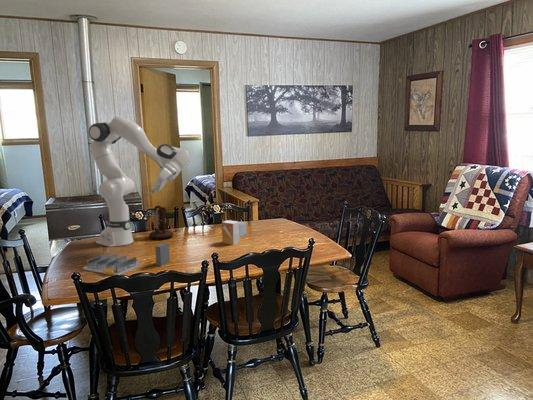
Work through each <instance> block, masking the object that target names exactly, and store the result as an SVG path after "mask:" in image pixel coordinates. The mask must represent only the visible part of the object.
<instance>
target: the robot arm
mask: <svg viewBox="0 0 533 400" xmlns="http://www.w3.org/2000/svg"><path fill="white" fill-rule="evenodd" d="M88 136H89V138H91V140H92V142H90V145H89V146H90V151H91V155H92V157H93V160H94V162H95V165H96V167H97V169H98V171H99V173H100V174H101V175H103V176H104V177H105V178H106V179H107V180H105V181H103V182H102V183H100V184H99V187H98V193H99V195H100V197H102V198H103V199H104V200H105V202H106V204H107V207H108V214H109V220H107V221H106V224H107V226H106V227H105V228H104V229H103V230H102V231H101V232H100V233H99V239H97V240H96V241H95V243H96V244H99V245H102V246H105V247H110V248H111V247H112V248H113V247H118V246H120V247H121V246H126V245H131V244H132V243H134V241H135V240H134V237H133V233H132V229H131V228H132V227H131V223H132V222H131V219H130V211H129V210H130V209H129V206H128V205H127V203H126V202H125V200H124V196H127V195H129V194H130V193H132V192H133V191H134V189H135V181H133V179H131V178H130V177H129V176H127V175H126V174H125V173H124V171H123V170H122V169H121V167H120V166H119V163H118V161H117V159H116V157H115V155H114V152H113V151H112V148H111V146H112V145H115V144H116V143H117V141H120V139H123V140H125V141H127V142H128V143H130V144H132V146H134V147H136V148H137V149H138V150H140V151H141V152H143V154H145V155H146V156H147V157H149V158H150V159H151V160H152V161H154V162H156V163H157V165H158V167H159V168H160V172H159V174H158V175H157V178H156V181H155V182H154V184H153V185H152V187H151V188H152V190H151V191H150V194H152V195H154V194H155V193H156V192H157V191H158V192H160V191H161V190H162V189H163V188H164V186H165V185H166V184H167V183H168V182H169V181H174V180H175V179H176V178H177V177H178V175H179V174H180V173H181V171H182V170H184V169H185V168H186V166H187V165H188V164H189V163H190V161H191V154H190V152H189V151H188V149H186V148H184V147H175V146H172V145H171V144H168V143H163V144H160V145H159V146H158V147H157V148H156V147H155V146H154V145H153V144H152V143H151V142H150V140H149V139H148V137H147V134H146V133H145V130H144V129H143V128H142V127H141V126H140V125H139V124H138V123H136V122H134V121H133V120H132V119H129V118H127V117H125V116H121V115H116V116H115V117H113V118H112V120H111V121H110V122H107V121H106V122H97V123H96V122H95V123H93V124H91V125H89V128H88Z"/></svg>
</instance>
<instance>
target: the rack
mask: <svg viewBox="0 0 533 400" xmlns="http://www.w3.org/2000/svg"><path fill="white" fill-rule="evenodd" d="M118 256H119V255H118V253H115V254H113V255H110V254H109V252H106V253H104V254H103V253H102V254H100V255H98V256H96V257H92V258H90V259H87V260H86V264H87V265H85V266H84V267H83V266H82V270H83V271H86V272H94V273H97V274H98V273H99V274H104V275H107V276H112V275H113V276H115V275H119V276H121V275H123V274H125V273H127V272H130V271H131V270H134V269H136V268H138V267H141V266H142V263H141V262H139V261H137V257H136V256H134V257H131V258H128V256H127V255H122V256H121V257H118Z"/></svg>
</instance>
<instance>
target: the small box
mask: <svg viewBox="0 0 533 400" xmlns="http://www.w3.org/2000/svg"><path fill="white" fill-rule="evenodd" d="M239 222H240V221H237V220H229V219H227V220H224V221H222V222H221V228H222V229H221V230H222V231H221V232H222V233H221V235H222V236H221V241H222V244H227V245H230V246H231V245H232V246H234V245H236V244H238V243H240V237H239Z"/></svg>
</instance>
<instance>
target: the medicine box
mask: <svg viewBox="0 0 533 400" xmlns="http://www.w3.org/2000/svg"><path fill="white" fill-rule="evenodd" d="M238 222H239V238H241V237H244V236H247V222H246V221H243V220H242V221H241V220H240V221H238Z"/></svg>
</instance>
